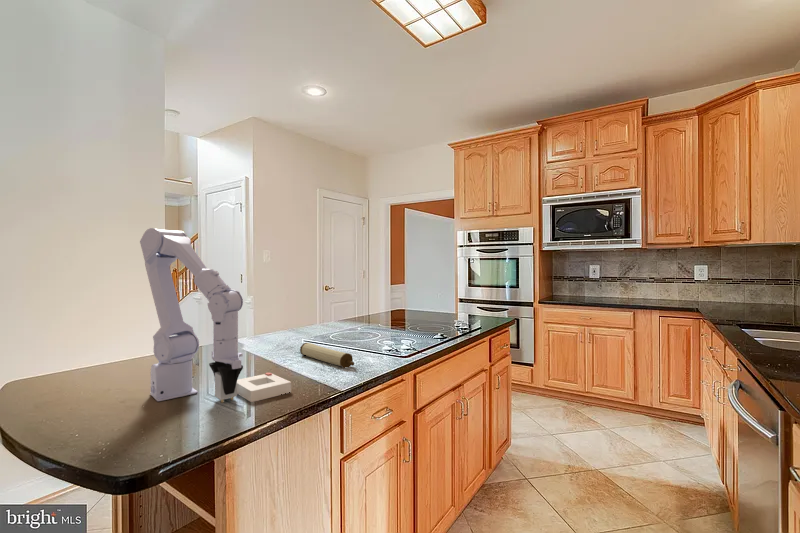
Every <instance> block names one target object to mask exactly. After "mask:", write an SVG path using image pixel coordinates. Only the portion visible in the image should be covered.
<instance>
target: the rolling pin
mask: <svg viewBox="0 0 800 533" xmlns="http://www.w3.org/2000/svg"><path fill="white" fill-rule="evenodd" d="M299 351H300V354H301V355H302V356H303V355H306V357H308V358H312V359H316V360H319V361H322V362H326V363H329V364H332V365H335V366H339V367H341V368H342V369H346V368H345V367H348V368H350V367H351V366H355V362H354V361H353V355H352V354H351V353H347V352H343V351H338V350H335V349H331V348H326V347H324V346H320V345H316V344H314V343H311V342H304V343H302V345H301V346H300V349H299ZM349 366H350V367H349Z"/></svg>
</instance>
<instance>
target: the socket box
mask: <svg viewBox="0 0 800 533" xmlns="http://www.w3.org/2000/svg"><path fill="white" fill-rule="evenodd" d="M289 392H290V393H292V381H290V380H287V379H286V378H283V377H281V376H278V375H276V374H275V373H272V372H265V373H263V374H258V375H254V376H253V375H252V376H248V377H244V378H238V379H237V396H240V397H242V398H244V399H246V400H247V401H248V402H250V403H255V402H258V401H262V400H265V399H266V400H267V399H270V398H274V397H278V396H281V394H282V395H285V393H286V394H290V393H289Z"/></svg>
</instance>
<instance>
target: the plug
mask: <svg viewBox="0 0 800 533" xmlns="http://www.w3.org/2000/svg"><path fill="white" fill-rule="evenodd" d="M237 396H238V394H237V383H236V387H235V391H234V393H232V394H228V395H225V393H224V389H223V382H222V377H221V375H220V372H216V373H215V376H214V397H216V398H217V399H218V400H220V403H224V402H225V400H227V399H230V401H234V399H235V398H236V397H237Z"/></svg>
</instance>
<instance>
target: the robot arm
mask: <svg viewBox="0 0 800 533" xmlns="http://www.w3.org/2000/svg"><path fill="white" fill-rule="evenodd" d="M139 244H140V248H141V251H142V255H143V256H142V257H143V259H144V260H143V261H144V266H145V271H146V274H147V279H148V282H149V287H150V290H151V294H152V298H153V303H154V306H155V309H156V310H155V311H156V314H157V318H158V322H159V325H160V328H159V329H158V330H157V331H156V332H155V333H154V334H153V336H152V339H153V356H154V357H155V359H156V360H157V361H158V363H157V362H156V363H153V364H151V368H150V392H149V395H151V397H153V398H154V399H155V401H156V402H163V401H166V400H167V401H168V400H171V399H177V398H181V397H185V396H189V395H190V396H191V395H195V394H198V392H199V391H198V390H196V389H195V388H194V387H193V359H195V354H197V352H198V351H199V349H200V341H199V340H200V339H199V338H198V336H197V335H196V333H195V332H194V331H195V330H194V329H193V326H191V325H190V324H188V323H187V322H185V321H184V318H183V314H182V310H181V307H180V303H179V298H178V295H177V292H176V288H175V284H174V280H173V275H172V273H171V268H170V267H171V265H172V263H175V262H176V261H177V260H179V261H180V262H181V263H182V264H183V266H185V268H186V269H188V271H190V273H191V274H192V275H193V276H194V278H193V279H194V280H193V283H194V285H195V286H196V287H197V288H198V290H199V291H200V292H201V294H202V295H203V296H204V297H205V298H206V300H207V301H208V302H207V308H208V310H209V312H210V315H211V320H212V322H213V326H212V327H213V331H212V333H213V334H212V335H213V351H211V359H212V361H213V362H209V363H208V365H209V367H210V369H211V370H212V373H213V376H214V377H215V373H216V372H220V375H221V377H222V382H223V389H224V393H225V395H228V394H232V393H234V391H235V387H236V383H237V380H238V379H239V377H240V374H241V372H242V371H243V369H244V366H243V365H242V360H241V358H240V357H243V353H242V352H239V312H240V310H241V309H242V307H243V305H244V300H243V299H244V298H243V297H242V295H241V293H240V291H239V290H236V289H233V288H231V287H230V286H229V284H227V283H225V281H224V279H222V277H221V276H220V273H219V272H218V271H217V270H215V269H213V268H207V266H206V265H205V263H204V262H203V261H202V258H200V256H199V255H198V253H197V252H196V251H195V249H194V248H193V247H192V240H191V238H190V237H188V235H187V233H186V232H184V231H183V230H179V229H178V230H173V229H171V230H169V229H161V228H160V229H159V228H154V227H149V228H147V229H146V230H145V231H144V232H143V234H142V236H141V238H140V240H139Z"/></svg>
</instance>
